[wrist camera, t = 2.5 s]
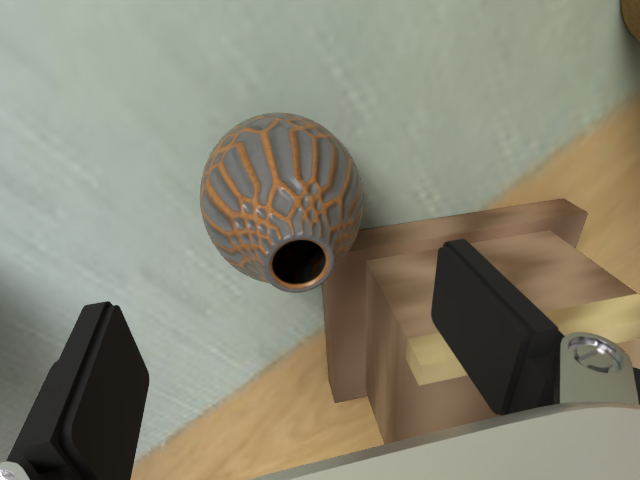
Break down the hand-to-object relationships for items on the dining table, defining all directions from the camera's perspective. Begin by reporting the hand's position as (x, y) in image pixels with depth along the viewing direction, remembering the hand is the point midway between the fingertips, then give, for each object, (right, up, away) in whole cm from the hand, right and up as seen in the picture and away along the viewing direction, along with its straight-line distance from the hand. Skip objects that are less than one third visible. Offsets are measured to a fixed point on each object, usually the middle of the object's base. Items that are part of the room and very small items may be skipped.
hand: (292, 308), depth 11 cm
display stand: (+9, -2, +16) cm, 18 cm away
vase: (-2, +6, +9) cm, 11 cm away
